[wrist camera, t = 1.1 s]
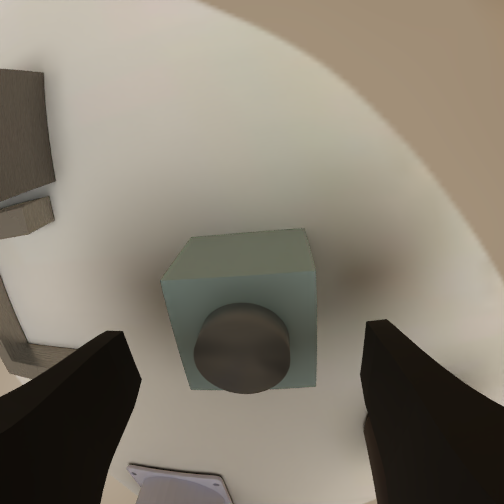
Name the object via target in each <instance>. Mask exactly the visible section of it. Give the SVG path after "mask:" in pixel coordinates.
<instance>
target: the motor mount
mask: <svg viewBox="0 0 504 504" xmlns="http://www.w3.org/2000/svg"><path fill="white" fill-rule="evenodd" d="M52 182H55V177H54V171H53V165H52V159H51V152H50V145H49V138H48V130H47V121H46V110H45V98H44V81H43V73H41V72H32V71H22V70H10V69H0V202H1V201H4V200H6V199H9V198H11V197H14V196H16V195H19V194H22V193H24V192H27V191H30V190H32V189H35V188H38V187H41V186H43V185H46V184H49V183H52ZM53 221H54V217H53V213H52V208H51V204H50V199H49V196H47V197H43V198H39V199H35V200H31V201H27V202H23V203H20V204H16V205H12V206H9V207H5V208H1V209H0V239H5V238H11V237H17V236H22V235H28V234H30V233H32V232H34V231H36V230H38V229H39V228H41V227H43V226H45V225H47V224H49V223H51V222H53ZM76 350H77V349H69V348H60V347H51V346H43V345H36V344H29V343H28V342H27V340H26V338H25V336H24V334H23V331H22V329H21V327H20V325H19V323H18V320H17V318H16V316H15V313H14V311H13V308H12V306H11V304H10V301H9V299H8V296H7V293H6V291H5V288H4V285H3V283H2V280H1V277H0V357H1V359H2V361H3V363H4V364H5V366H6V368H7V370H8V372H9V373H11V374H14V375H18V376H22V377H26V378H30V379H34V378H35V377H37V376H38V375H40V374H42V373H43V372H45V371H46V370H48V369H49V368H51V367H52V366H54V365H55V364H57V363H58V362H60V361H61V360H63V359H64V358H66V357H67V356H68V355H70V354H71V353H73V352H74V351H76Z"/></svg>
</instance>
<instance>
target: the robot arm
mask: <svg viewBox="0 0 504 504" xmlns="http://www.w3.org/2000/svg"><path fill="white" fill-rule="evenodd" d="M360 377H361V382H362V388H363V394H364V400H365V405H366V408H367V412H368V415H369V418H370V422H371V425H372V429H373V432H374V436H375V439H376V442H377V446H378V449H379V453H380V457H381V460H382V464H383V468H384V473H385V478H386V486H387V494H388V502H389V504H504V407H503V406H502V405H500V404H498V403H496V402H494V401H492V400H491V399H489V398H487V397H486V396H484V395H483V394H481V393H479V392H478V391H476V390H474V389H473V388H471V387H470V386H468V385H467V384H465V383H464V382H462V381H461V380H460V379H458V378H457V377H456V376H454V375H453V374H452V373H450V372H449V371H448V370H446V369H445V368H444V367H442V366H441V365H440V364H439V363H437V362H436V361H435V360H434V359H432V358H431V357H430V356H429V355H427V354H426V353H425V352H424V351H423V350H422V349H420V348H419V347H418V346H417V345H416V344H415V343H413V342H412V341H411V340H410V339H409V338H408V337H407V336H405V335H404V334H403V333H402V332H401V331H400V330H399V329H398V328H396V327H395V326H394V325H393V324H392V323H391V322H389V321H388V320H387V319H384V320H376V321H367V322H366V330H365V339H364V348H363V357H362V365H361V372H360ZM141 380H142V379H141V377H140V374H139V372H138V369H137V367H136V364H135V362H134V359H133V357H132V354H131V352H130V349H129V346H128V344H127V341H126V338H125V336H124V333H123V331H105V332H104V333H102V334H100V335H98V336H97V337H95V338H94V339H92V340H90V341H89V342H87V343H86V344H84V345H83V346H82V347H80V348H79V349H77V350H76V351H74V352H73V353H71V354H70V355H68V356H67V357H66V358H64V359H63V360H61V361H60V362H58V363H57V364H55V365H54V366H52V367H51V368H49V369H48V370H46V371H45V372H43V373H42V374H40V375H38V376H37V377H35V378H34V379H32V380H31V381H29V382H27V383H26V384H24V385H22V386H20V387H19V388H17V389H15V390H13V391H11V392H9V393H8V394H5V395H3V396H1V397H0V504H100V503H101V497H102V493H103V488H104V485H105V481H106V476H107V473H108V469H109V467H110V464H111V461H112V458H113V456H114V453H115V451H116V449H117V446H118V444H119V442H120V439H121V437H122V435H123V432H124V430H125V428H126V425H127V423H128V421H129V418H130V416H131V413H132V411H133V409H134V406H135V403H136V399H137V396H138V392H139V388H140V384H141ZM126 469H127V470H128V472H129V473H130V474H131V475H132V477H133V478H134V479H135V480H136V482H137V483H138V484H139V485H140V487H141V489H140V492H139V496H138V499H137V502H136V504H233V503H232V500H231V498H230V496H229V494H228V491H227V489H226V487H225V484H224V482H223V480H222V478H221V477H219V476H214V475H201V474H191V473H181V472H173V471H166V470H159V469H153V468H147V467H141V466H135V465H128V466H127V468H126Z"/></svg>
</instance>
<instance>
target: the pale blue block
mask: <svg viewBox="0 0 504 504" xmlns="http://www.w3.org/2000/svg"><path fill="white" fill-rule="evenodd" d="M160 282H161V286H162V290H163V294H164V298H165V302H166V306H167V310H168V314H169V318H170V321H171V325H172V329H173V332H174V336H175V339H176V343H177V346H178V350H179V353H180V357H181V360H182V363H183V366H184V370H185V373H186V376H187V379H188V382H189V386H190V389H191V390H226V391H229V392H233V393H240V394H252V393H259V392H262V391H265V390H268V389H287V388H302V387H315V386H316V365H317V296H316V269H315V265H314V262H313V258H312V254H311V251H310V247H309V243H308V240H307V236H306V233H305V229H304V228H301V229H287V230H274V231H261V232H248V233H236V234H224V235H212V236H200V237H191V238H190V240H189V241H188V242H187V244H186V245H185V247H184V248H183V249H182V251H181V252H180V253H179V255H178V256H177V258H176V259H175V260H174V262H173V263H172V265H171V266H170V267H169V269H168V270H167V272H166V273H165V274H164V276H163V277H162V279H161V280H160Z"/></svg>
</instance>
